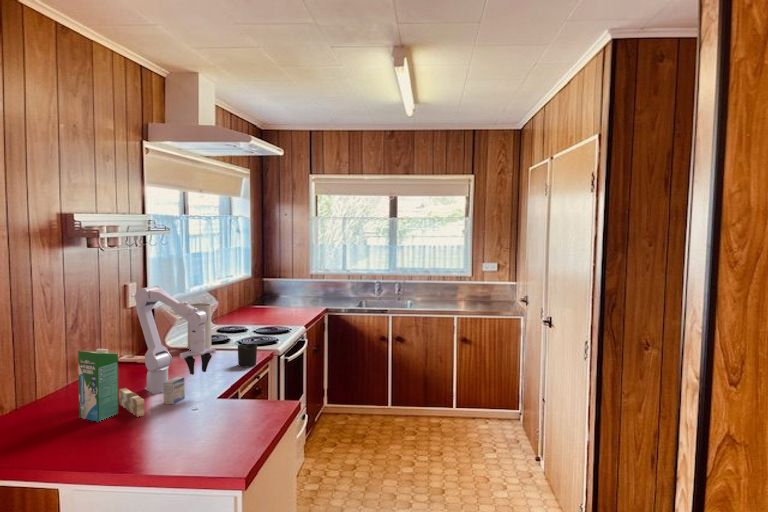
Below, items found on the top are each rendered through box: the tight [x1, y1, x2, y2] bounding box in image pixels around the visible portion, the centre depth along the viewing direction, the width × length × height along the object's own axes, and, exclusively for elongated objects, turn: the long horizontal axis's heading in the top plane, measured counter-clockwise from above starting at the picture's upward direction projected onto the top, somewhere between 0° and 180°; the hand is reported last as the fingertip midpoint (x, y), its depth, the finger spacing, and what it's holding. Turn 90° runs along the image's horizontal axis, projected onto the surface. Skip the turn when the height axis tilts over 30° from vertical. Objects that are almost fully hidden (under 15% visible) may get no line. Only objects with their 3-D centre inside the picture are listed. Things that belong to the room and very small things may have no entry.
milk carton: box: [77, 348, 119, 423], centre depth 189 cm, size 9×9×25 cm
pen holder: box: [237, 343, 258, 367], centre depth 262 cm, size 9×9×10 cm
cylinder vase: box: [187, 302, 212, 351], centre depth 292 cm, size 12×12×25 cm
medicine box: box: [162, 376, 186, 405], centre depth 208 cm, size 8×4×9 cm, turn 168°
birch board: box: [118, 387, 145, 418], centre depth 197 cm, size 18×2×6 cm, turn 46°
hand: (198, 372), depth 215 cm, fingers open, 5 cm apart
